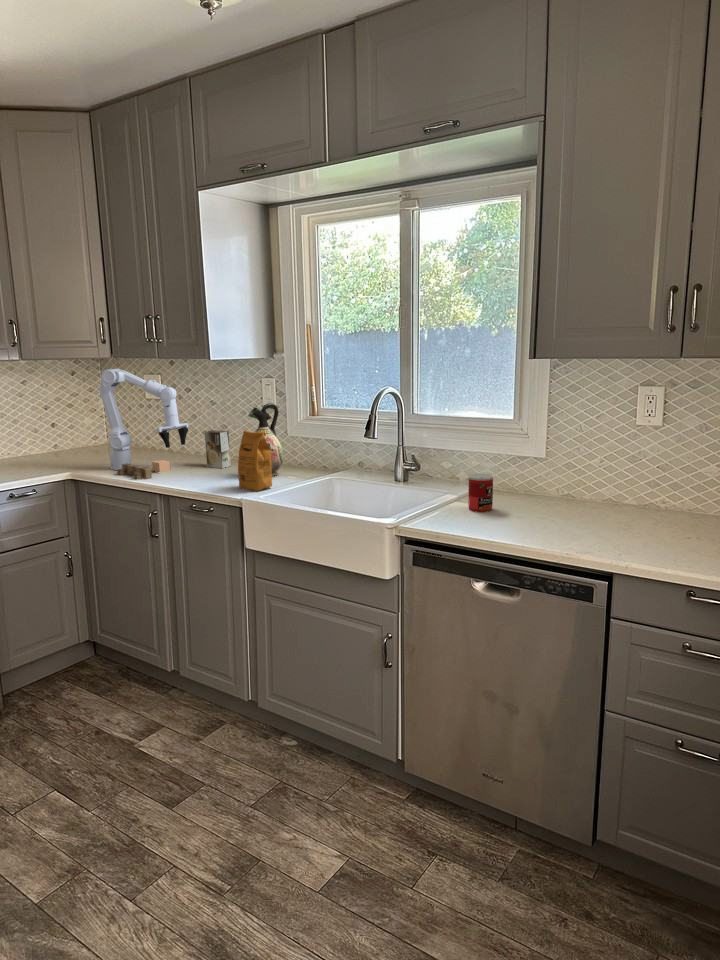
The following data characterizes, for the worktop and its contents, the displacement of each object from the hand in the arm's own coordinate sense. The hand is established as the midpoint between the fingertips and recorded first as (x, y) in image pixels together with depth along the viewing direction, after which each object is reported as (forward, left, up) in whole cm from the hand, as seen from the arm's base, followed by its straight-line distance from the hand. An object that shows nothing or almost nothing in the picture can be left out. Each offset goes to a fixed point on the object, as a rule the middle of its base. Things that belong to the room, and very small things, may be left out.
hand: (175, 446), depth 302 cm
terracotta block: (0, -8, -10) cm, 13 cm away
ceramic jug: (+44, +16, -10) cm, 47 cm away
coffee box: (+11, +15, -10) cm, 21 cm away
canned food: (+144, +23, -10) cm, 146 cm away
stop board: (0, -21, -10) cm, 23 cm away
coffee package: (+60, -3, -10) cm, 61 cm away
